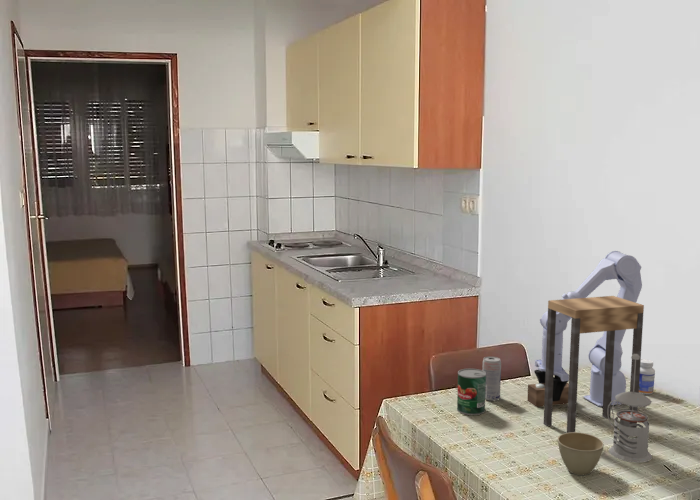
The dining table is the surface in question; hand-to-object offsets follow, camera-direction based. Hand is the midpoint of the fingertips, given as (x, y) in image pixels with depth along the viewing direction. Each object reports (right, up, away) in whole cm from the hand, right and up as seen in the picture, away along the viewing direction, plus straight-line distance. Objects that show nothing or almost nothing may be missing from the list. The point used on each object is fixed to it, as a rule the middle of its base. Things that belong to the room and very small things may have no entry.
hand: (550, 397), depth 200 cm
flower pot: (-6, -8, -43) cm, 44 cm away
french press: (+9, -6, -33) cm, 35 cm away
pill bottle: (+31, 0, +8) cm, 32 cm away
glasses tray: (0, -1, 0) cm, 2 cm away
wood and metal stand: (+5, -4, -19) cm, 20 cm away
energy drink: (-17, -1, +4) cm, 17 cm away
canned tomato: (-24, -3, -6) cm, 25 cm away
